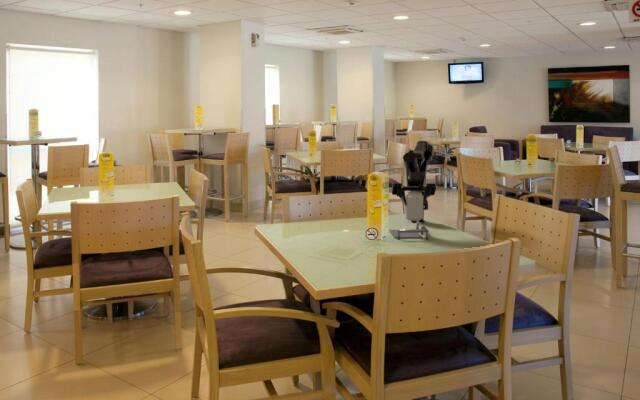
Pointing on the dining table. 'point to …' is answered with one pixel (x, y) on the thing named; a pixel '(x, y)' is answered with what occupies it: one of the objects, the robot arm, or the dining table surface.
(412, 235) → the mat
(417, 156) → the robot arm
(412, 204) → the can
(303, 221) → the dining table surface
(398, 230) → the rail
